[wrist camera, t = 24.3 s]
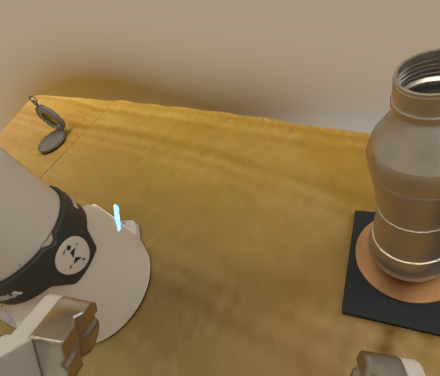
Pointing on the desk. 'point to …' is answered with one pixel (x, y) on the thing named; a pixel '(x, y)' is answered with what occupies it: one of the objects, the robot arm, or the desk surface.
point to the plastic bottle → (408, 173)
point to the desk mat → (379, 303)
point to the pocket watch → (56, 136)
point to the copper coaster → (389, 285)
